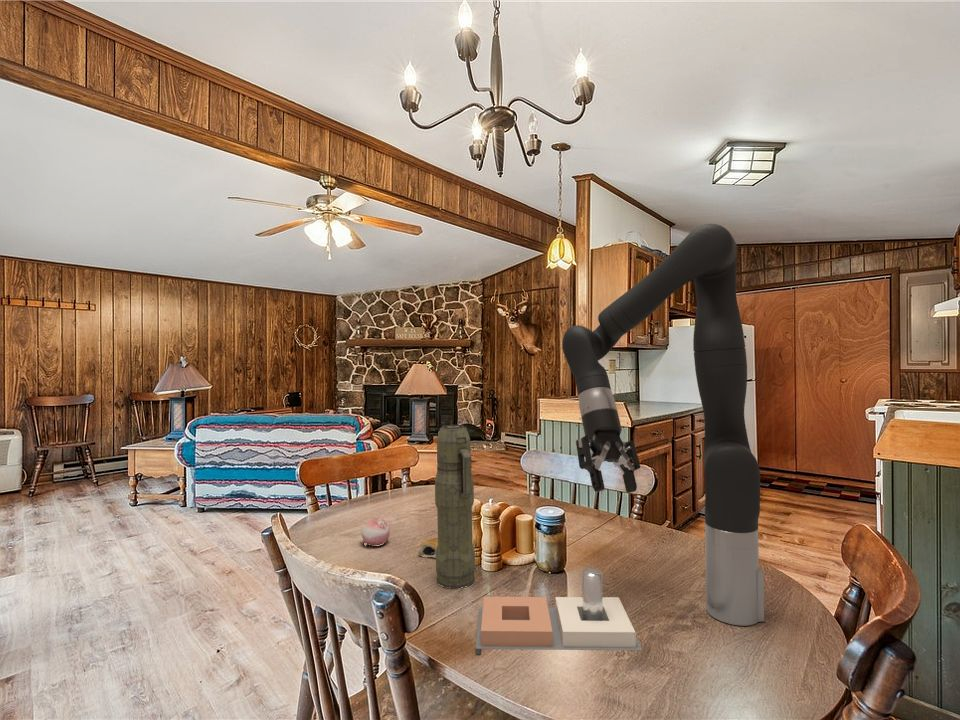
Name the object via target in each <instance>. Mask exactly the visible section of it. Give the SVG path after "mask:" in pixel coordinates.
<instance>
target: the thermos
mask: <svg viewBox="0 0 960 720" xmlns="http://www.w3.org/2000/svg"><path fill="white" fill-rule="evenodd" d="M436 462H437V467H436V468H437V469H436V470H437V471H436V475H435V478H434V500H435V502H434V504H435V506H436V508H437V509H436V510H437V515H436V516H437V538H438V546H437V549H436V558H435V572H436V583H437V582H438V583H439V584H440V585H442V586H444V587H448V588H449V587H450V588H461V587H465V586H468V587H470V586H471V584H472V583H473V582H474V583H475V581H476V578H475V571H476V549H475V547H474V544H473V543H474V542H473V505H474V503H475V498H474V497H475V492H474V491H475V487H474V480H475V479H474V478H473V475H472V454H471V437H470V434H469V431H468V429H467V427H466V426H464V425H462V424H448V425H446V424H445V425H443V426H442V427H440V428H439V431H438V434H437V438H436ZM438 583H437V584H438ZM474 583H473V584H474ZM473 584H472V585H473ZM440 585H439V586H440ZM469 585H470V586H469ZM444 587H443V588H444ZM448 588H447V589H448ZM465 588H466V587H465ZM461 589H462V588H461Z"/></svg>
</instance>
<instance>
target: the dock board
mask: <svg viewBox="0 0 960 720" xmlns="http://www.w3.org/2000/svg"><path fill="white" fill-rule="evenodd" d="M482 600H483V601H482V606H479V609H478V617H477V618H478V619H477V629H476V630H477V631H476V641H475V655H482V650H547V651H548V650H549V651H551V650H553V651H555V650H556V651H558V650H560V651H562V650H563V651H565V650H566V651H635V652H636V651H643V648H642V646H641V644H640V642H639V639H638V637H637V635H636V634H637V633H636V631H635V629H634V628H635V627H633V626H634V625H633V624H632V621H631V619H630V618H629V616H628V614H627V612H626V610H625V608H624V606H623V603H622V602H621V600H620V597H615V596H613V597H612V596H611V597H606V596H605V597H604V596H603V621H583V609H582V596H579V597H578V596H555V607H549V605H548V600H547V596H483V599H482Z"/></svg>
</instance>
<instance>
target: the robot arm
mask: <svg viewBox="0 0 960 720" xmlns="http://www.w3.org/2000/svg"><path fill="white" fill-rule="evenodd" d="M737 259H738V246H737V242H736V241H735V238H734V237H733V235H732V234H731V232H730V231H729V230H728V229H727V228H726V227H723V226H722V225H719V224H717V223H706V224H703V225H699V226H698V227H695V228H694V229H692V231H691V232H689V233H688V234H687V236H685V237H684V239H682V241H681V242H680V243H679V244H678V245H677V246H676V247H675V248H674V249H673V250H672V251H671V252H670V253H669V255H667V257H665V258H664V259H663V260H662V261H661V262H660V263H659V264H658V265H657V266H656V267H655V268H653V270H652V271H650V272H649V273H648V274H647V275H645V276H644V277H643V278H642V279H641V280H640V281H639V282H637V283H636V284H635V285H633V286H632V287H630V288H629V289H628V290H627V291H626V292H624V293H623V294H622V295H621V296H619V297H618V298H617V299H616V300H614V301H613V302H611V303H610V304H609V305H607V306H605V308H604V309H603V310H601V311H600V313H599V314H598V316H597V321H598V324H599V325H598V326H597V327H596V328H595V329H594V330H592V329H589V328H588V327H586V326H583V325H579V324H578V325H577V324H576V325H573V326H569V328H568V329H566V331H565V332H564V334H563V337H562V344H561V345H562V351H563V354H564V357H565V360H566V363H567V366H568V367H569V369H570V371H571V373H572V375H573V378H574V381H575V387H576V392H577V396H578V407H579V412H580V418H581V423H582V429H583V433H584V436H582V437H580V438H578V439H576V441H575V445H576V451H577V453H576V454H577V459H578V465H579V469H581V470H586V471H587V473H589V478H590V483H591V486H592V489H593V491H594V492H596V493H600V492H602V491H605V483H604V478H603V477H604V476H603V475H602V474H603V473H602V470H601V467H602V466H601V465H602V464H603V463H604V462H606V463H607V462H608V463H613V465H614V466H615V467H617V468H619V470H620V471H621V473H622V479H623V483H624V489H625V490H626V493H635V492H636V491H637V489H638V488H637V486H638V484H637V482H636V477H635V471H637V470H639V469H641V463H640V460H639V457H638V453H637V450H636V447H635V443H634V441H633V440H632V439H631V440H629V441H623V440H622V438H621V433H622V431H623V430H622V425H621V421H620V420H621V419H620V417H619V413H618V408H617V403H616V400H615V397H614V394H613V392H612V388H611V384H610V380H609V375H608V372H607V370H606V369H605V367H604V366H603V365H602V364H601V363H600V362H599V361H600V360H602V359H603V358H605V356H606V355H608V353H609V352H610V351H611V350H612V349H613V348H614V347H615V346H616V344H618V342H619V340H620V339H621V338H622V337H623V336H624V335H626V334H627V333H629V332H631V331H632V329H634V328H636V327H637V326H638V325H639V324H641V323H643V321H645V320H646V319H647V318H649V316H651V315H652V314H653V313H654V312H655V311H656V310H657V309H658V308H659V307H660V306H661V305H662V304H663V303H664V302H665V301H666V300H667V299H668V298H669V297H670V296H671V295H673V294H674V293H675V292H676V291H677V290H679V289H680V288H682V287H683V286H685V285H687V284H688V283H689V282H692V281H693V283H694V290H695V297H696V310H695V311H696V312H695V320H694V328H693V340H692V343H693V345H692V346H693V357H694V358H693V359H694V369H695V377H696V382H697V388H698V392H699V398H700V402H701V406H702V407H701V408H702V410H703V419H704V447H703V451H704V452H703V458H702V459H703V463H702V465H703V467H704V468H703V469H704V492H705V493H704V495H705V496H704V497H705V498H704V543H705V544H704V545H705V546H704V548H705V550H704V551H705V552H704V553H705V564H704V565H705V608H706V611H707V614H708V615H710V616H712V618H714V619H716V620H717V621H720V622H722V623H726V624H729V625H733V626H742V627H743V626H744V627H745V626H753V625H755V624H757V623H758V622H765V581H764V580H765V574H764V570H763V569H762V568H761V567H760V566H759V565H760V563H759V562H760V561H759V560H760V559H759V556H760V555H759V551H760V550H759V518H760V514H761V471H760V465H759V462H758V460H757V459H756V457H755V456H754V454H753V453H752V450H751V447H750V442H749V438H748V432H747V426H746V418H745V406H746V405H745V404H746V397H747V386H748V360H747V350H746V349H747V348H746V342H745V336H744V328H743V323H742V318H741V313H740V309H739V306H738V299H737ZM632 462H633V463H632Z"/></svg>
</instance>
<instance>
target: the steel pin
mask: <svg viewBox="0 0 960 720" xmlns="http://www.w3.org/2000/svg"><path fill="white" fill-rule="evenodd" d="M581 591H582V592H581V593H582V594H581V595H582V596H581V597H582V609H583V621H603V597H604V596H603V572H602V571H601V570H600V569H597V568H592V567H588V568H584V569H582V570H581Z"/></svg>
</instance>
